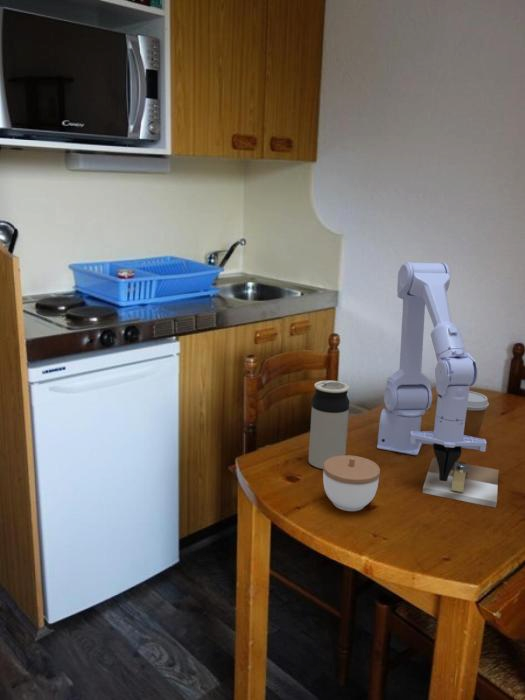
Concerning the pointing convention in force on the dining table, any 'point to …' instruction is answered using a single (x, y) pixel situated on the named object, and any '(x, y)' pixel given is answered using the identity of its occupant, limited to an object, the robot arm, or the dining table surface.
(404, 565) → the dining table surface
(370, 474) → the lidded jar
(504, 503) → the dining table surface
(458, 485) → the bar
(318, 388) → the travel mug
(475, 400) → the disposable coffee cup
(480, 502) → the door edge board
